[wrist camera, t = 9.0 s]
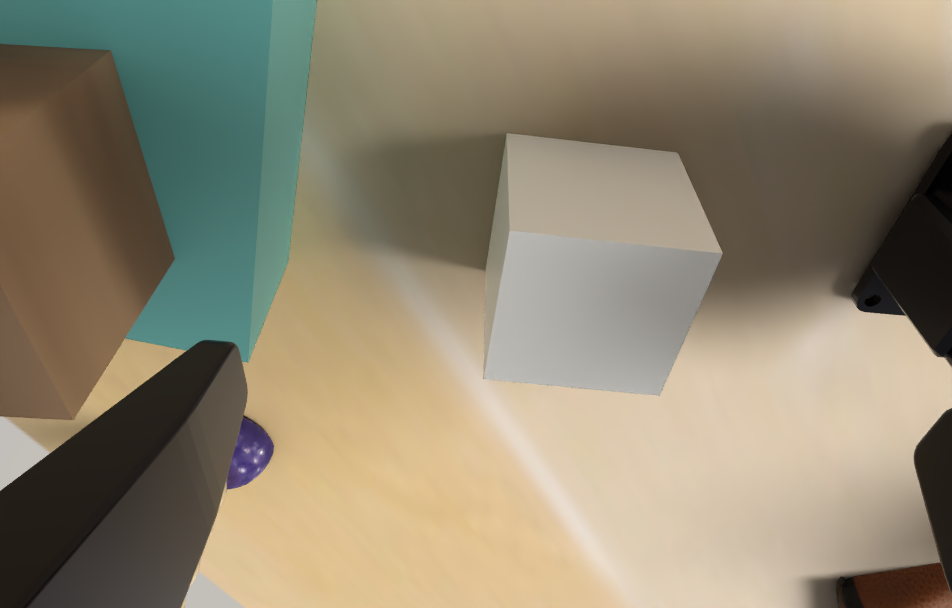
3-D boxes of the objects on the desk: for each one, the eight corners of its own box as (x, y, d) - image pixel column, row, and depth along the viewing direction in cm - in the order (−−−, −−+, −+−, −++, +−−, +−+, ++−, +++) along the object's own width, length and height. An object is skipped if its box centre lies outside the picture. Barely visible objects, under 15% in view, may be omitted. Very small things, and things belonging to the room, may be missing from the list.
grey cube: (677, 151, 19) (723, 253, 15) (631, 284, 22) (659, 395, 18) (506, 131, 19) (509, 230, 15) (485, 269, 22) (483, 379, 18)
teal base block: (326, -67, 16) (273, -6, 12) (290, 255, 22) (248, 362, 18) (-137, -208, 14) (-369, -190, 10) (-32, 183, 20) (-153, 283, 17)
